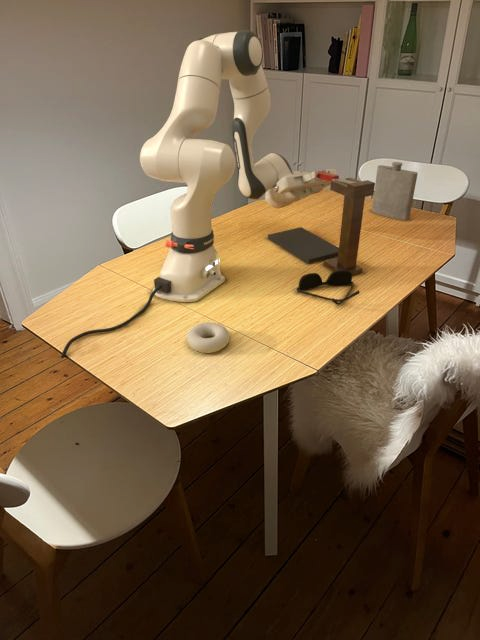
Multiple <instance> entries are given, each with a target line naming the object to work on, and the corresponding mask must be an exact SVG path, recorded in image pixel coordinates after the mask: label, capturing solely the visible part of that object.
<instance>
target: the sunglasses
mask: <svg viewBox="0 0 480 640" xmlns="http://www.w3.org/2000/svg"><path fill="white" fill-rule="evenodd" d="M352 280H353V276H352V274H351V272H350V271H348V270H337V271H332V272H331V273H330V274H329V276H328V277H327V278H326V280H325V281H323V279H322V277H321V275H320V274H319V273H318V272H309V273H306V274H303V275H302V276H300V279H299V281H298V286H297V287H296V291H297V292H298V293H300V294H304V295H306V296H307V295H308V296H310V297H314V298H318V299H321V300H325V301H331V302H332V303H334V304H335V305H337V306H340V305H341V304H342V303H344V302H345V301H348V300H349V299H351V298H354V297H356V296H357V295H359V294H360V289H359V290H357V291H355V292H353V293H352V294H350V293H351V291H352V290H353V288H354V284H355V283H354V282H353V281H352ZM322 286H334V287H345V286H351V287H350V288H349V290H348V292H347V294H346V295H345V296H344V298H340V299H337V298H334V297H332V298H330V297H327V296H322V295H319V294H315V293H311V292H308V290H312V289H315V288H319V287H322ZM349 294H350V295H349Z"/></svg>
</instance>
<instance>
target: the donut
mask: <svg viewBox="0 0 480 640" xmlns="http://www.w3.org/2000/svg"><path fill="white" fill-rule="evenodd" d="M186 341H187V344H188V345H189V347H190V348H191V349H193V350H194V351H196V352H199V353H203V354H206V353H207V354H210V353H215V352H218V351H221V350H223V349H224V348H225V347H226V346H227V345H228V344H229V341H230V333H229V330H228V329H227V328H226V327H225V326H224V325H222V324H220V323H217V322H210V321H209V322H201V323H198V324H196V325H194V326H192V327H191V328H190V329H189V331H188V332H187V334H186Z"/></svg>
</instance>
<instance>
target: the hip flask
mask: <svg viewBox="0 0 480 640" xmlns="http://www.w3.org/2000/svg"><path fill="white" fill-rule="evenodd" d="M402 166H403V162H400V161H392V163H391V166H390V165H382V164H381V165H377V169H376V177H375V182H374V183H375V187H374V194H373V197H372V204H371V212H372V213H374V214H377V215H380V216H382V217H387V218H390V219H394V220H398V221H405V222H406V221H409V220H410V217H411V212H412V211H411V210H412V205H413V201H414V195H415V190H416V184H417V178H418V174H419V173H418V171H415V170H407V169H402Z"/></svg>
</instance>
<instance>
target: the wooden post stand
mask: <svg viewBox="0 0 480 640" xmlns="http://www.w3.org/2000/svg"><path fill="white" fill-rule="evenodd" d="M345 179H346V180H350V181H354V182H355V183H350V184H345V183H342V182H340V181H337V180H334V181H331V185H329V186H330V188H329V190H330V191H332V192H334V193H337V194H340V195H341V196H343V205H342V213H341V224H340V232H339V240H338V241H339V243H338V247H339V251H338V256H337V257H333V258H329V259H326V260H323V265H322V266H324V267H325V268H327V269H329V270H330V271H332V272H334V271H337V270H348V271H350V272H351V274H352V277H353V276H357V275H360V274H362V273H363V272H364V268H363V267H362V266H361V265H359V264H357V262H358V254H359V247H360V246H359V245H360V240H361V239H360V238H361V230H362V223H363V215H364V210H365V209H364V207H365V201H366V197H372V196H374V190H375V183H376V182H374V181H372V180H368V179H367V180H362V181H361V180H359V179H356V178H353V177H346V178H345Z"/></svg>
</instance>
